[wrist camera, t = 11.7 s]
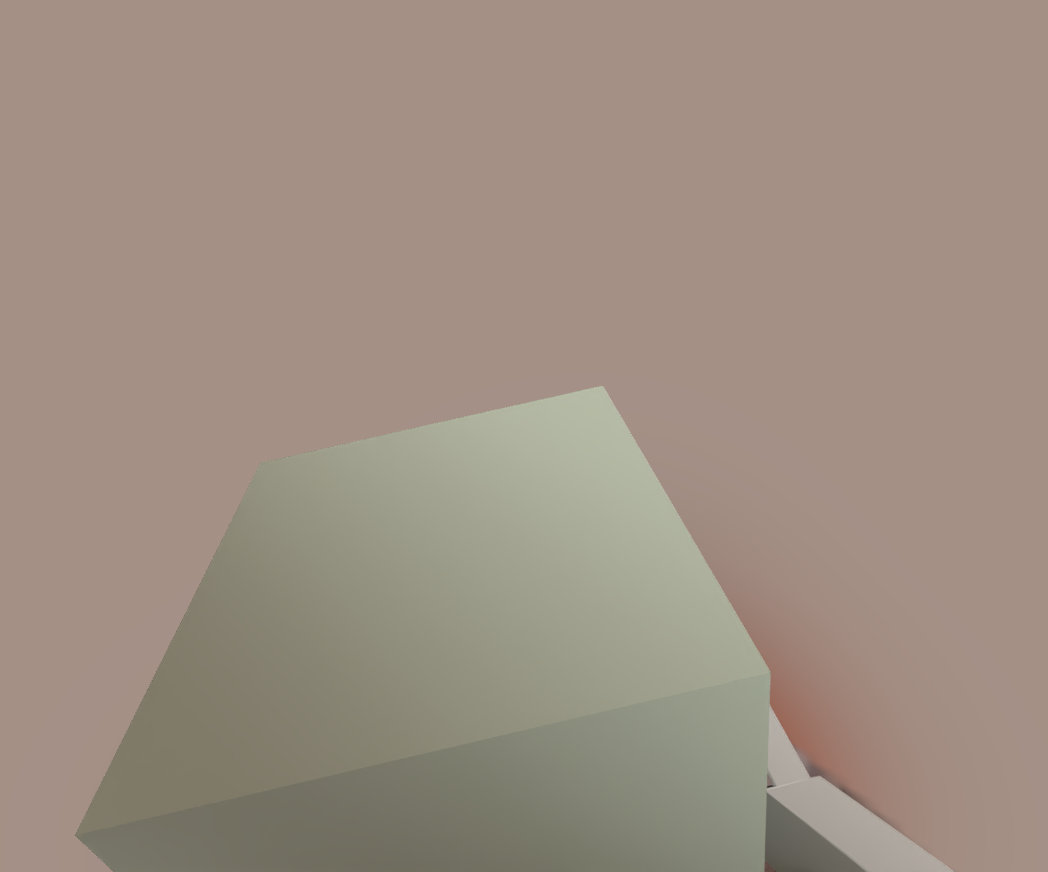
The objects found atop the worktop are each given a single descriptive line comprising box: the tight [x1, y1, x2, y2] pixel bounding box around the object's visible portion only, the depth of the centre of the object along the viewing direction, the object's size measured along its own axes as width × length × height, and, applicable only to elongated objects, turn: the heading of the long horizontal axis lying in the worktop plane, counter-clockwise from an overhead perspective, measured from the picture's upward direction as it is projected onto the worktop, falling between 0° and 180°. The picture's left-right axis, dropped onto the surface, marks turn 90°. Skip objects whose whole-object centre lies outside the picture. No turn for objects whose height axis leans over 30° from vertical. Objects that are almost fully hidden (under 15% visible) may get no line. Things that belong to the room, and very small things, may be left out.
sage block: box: [75, 386, 770, 872], centre depth 9 cm, size 5×5×12 cm
